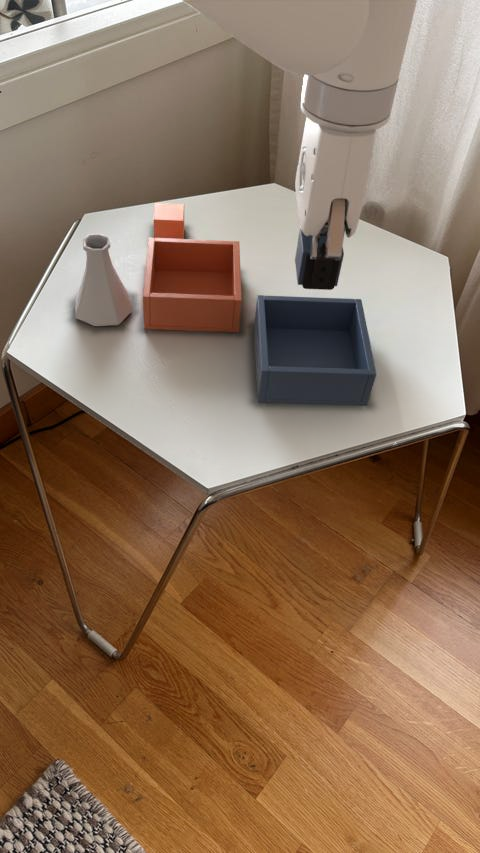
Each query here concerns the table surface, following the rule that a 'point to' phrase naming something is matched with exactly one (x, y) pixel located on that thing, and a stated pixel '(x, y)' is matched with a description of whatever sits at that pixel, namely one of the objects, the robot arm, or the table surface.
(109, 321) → the flask
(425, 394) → the table surface
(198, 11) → the robot arm
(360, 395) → the slate bin
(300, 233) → the slate block
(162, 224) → the terracotta block
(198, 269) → the terracotta bin
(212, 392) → the table surface
